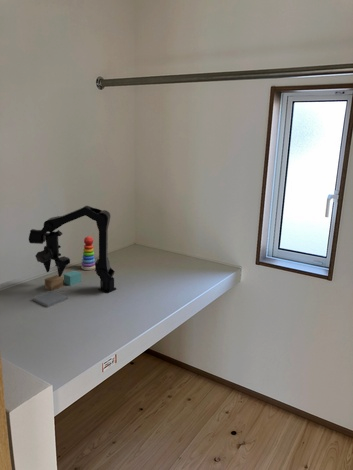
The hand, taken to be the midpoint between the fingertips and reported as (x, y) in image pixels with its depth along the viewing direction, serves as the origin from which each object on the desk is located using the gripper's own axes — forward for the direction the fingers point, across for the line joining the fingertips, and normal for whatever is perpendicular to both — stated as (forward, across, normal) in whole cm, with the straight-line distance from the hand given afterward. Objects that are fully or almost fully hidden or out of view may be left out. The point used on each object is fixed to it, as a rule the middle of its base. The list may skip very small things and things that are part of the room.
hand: (53, 274), depth 186 cm
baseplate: (+7, +10, -10) cm, 16 cm away
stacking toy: (+7, -7, +29) cm, 31 cm away
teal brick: (+7, +2, +10) cm, 12 cm away
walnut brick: (+7, 0, 0) cm, 7 cm away
